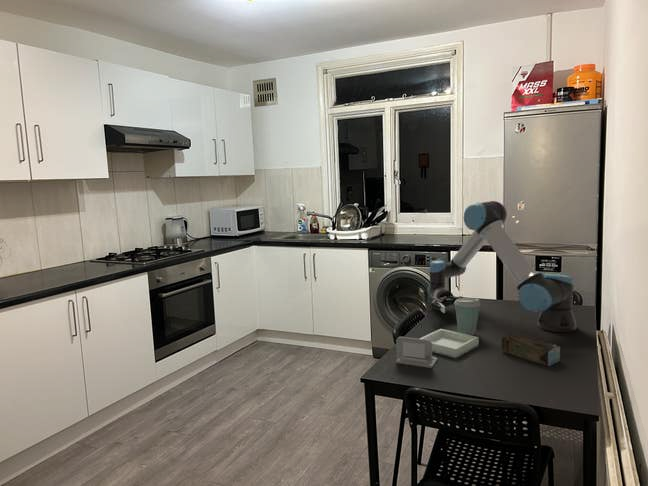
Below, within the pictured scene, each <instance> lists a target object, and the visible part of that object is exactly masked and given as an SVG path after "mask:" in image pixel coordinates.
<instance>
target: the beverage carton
mask: <svg viewBox="0 0 648 486" xmlns="http://www.w3.org/2000/svg"><path fill="white" fill-rule="evenodd" d="M501 352H503V353H505V354H508V353H509V355H511V354H512V356H514V355H515V357H518V358H521V359H524V360H527V361H531V362H533V363H537V364H540V365H544V366H547V367H550V366H553V364H556V363H558V362H560V361H561V360H560V358H561V346H560V345H558V344H555V343H551V342H547V341H544V340H541V339H538V338H535V337H530V336H527V335H524V334H519V333H516V332H512V333H509V334H507V335H504V336H502V337H501Z"/></svg>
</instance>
